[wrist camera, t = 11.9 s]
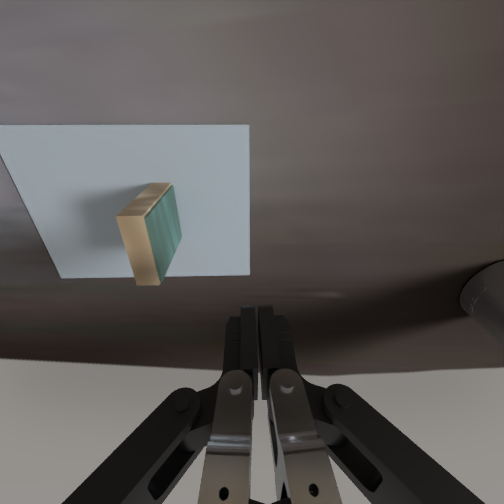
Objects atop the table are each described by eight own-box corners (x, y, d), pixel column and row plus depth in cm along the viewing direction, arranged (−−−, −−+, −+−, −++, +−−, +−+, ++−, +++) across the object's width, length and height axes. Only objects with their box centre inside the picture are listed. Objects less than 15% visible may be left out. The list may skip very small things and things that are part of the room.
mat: (249, 124, 22) (249, 124, 22) (249, 273, 30) (249, 275, 30) (-10, 124, 21) (-14, 125, 21) (63, 276, 30) (61, 278, 29)
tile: (173, 182, 24) (145, 215, 17) (182, 238, 27) (162, 285, 20) (152, 182, 24) (115, 216, 17) (163, 238, 27) (136, 285, 20)
